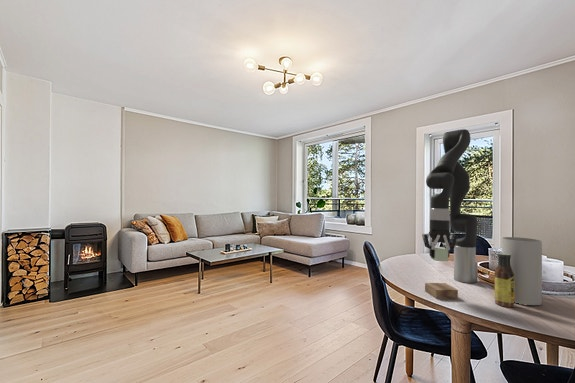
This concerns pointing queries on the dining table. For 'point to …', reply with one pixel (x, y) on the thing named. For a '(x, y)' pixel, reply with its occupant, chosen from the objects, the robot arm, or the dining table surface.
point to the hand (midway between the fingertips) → (439, 258)
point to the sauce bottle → (504, 282)
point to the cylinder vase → (525, 268)
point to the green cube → (440, 254)
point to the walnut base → (441, 291)
